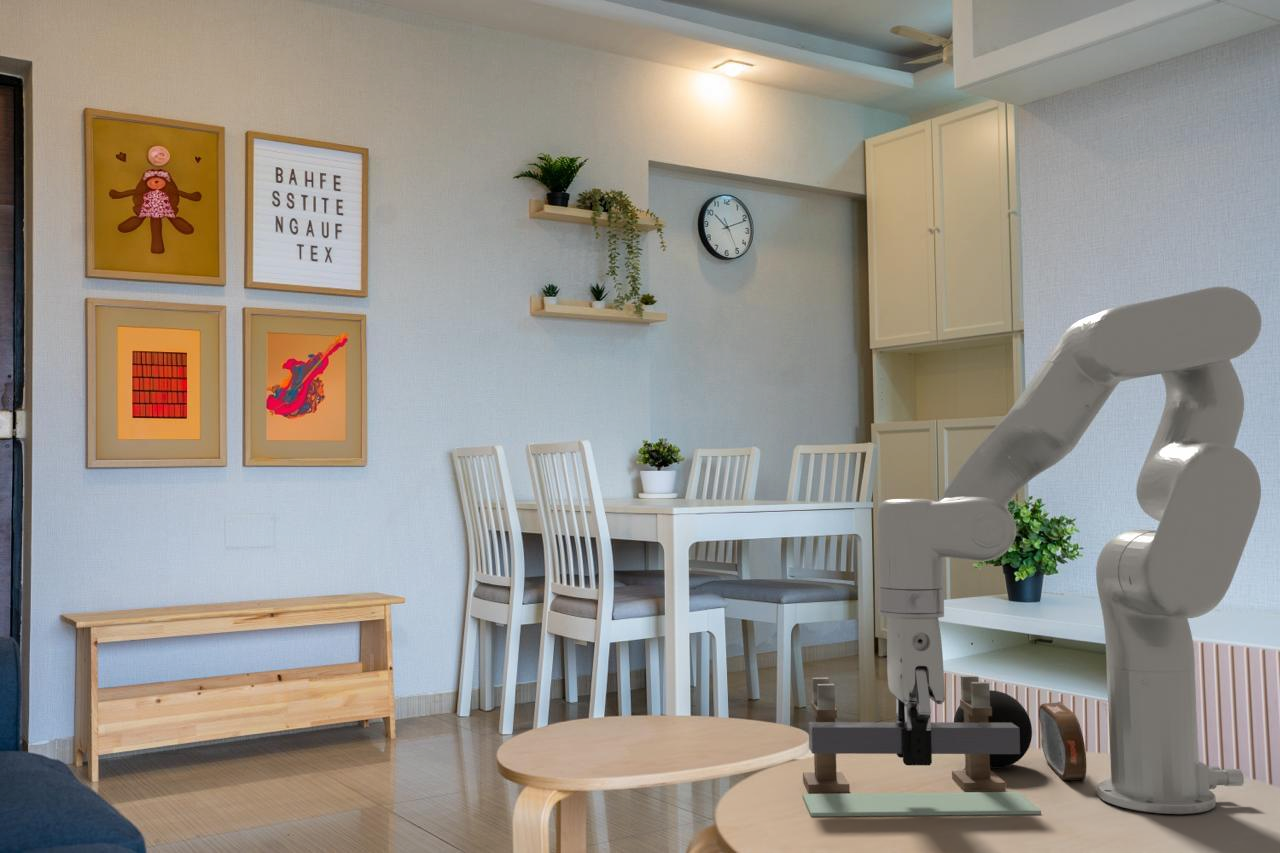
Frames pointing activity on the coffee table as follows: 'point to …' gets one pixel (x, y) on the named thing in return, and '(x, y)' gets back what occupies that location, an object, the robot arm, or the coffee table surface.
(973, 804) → the mat
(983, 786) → the rack
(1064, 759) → the tin
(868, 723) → the rail
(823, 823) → the coffee table surface
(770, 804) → the coffee table surface
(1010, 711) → the decorative ball
